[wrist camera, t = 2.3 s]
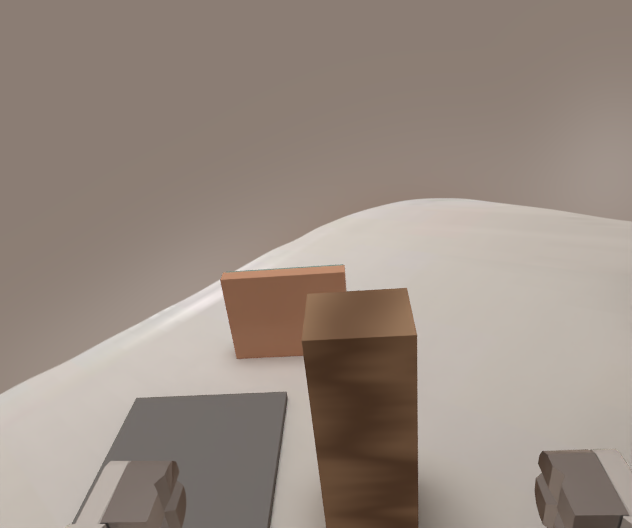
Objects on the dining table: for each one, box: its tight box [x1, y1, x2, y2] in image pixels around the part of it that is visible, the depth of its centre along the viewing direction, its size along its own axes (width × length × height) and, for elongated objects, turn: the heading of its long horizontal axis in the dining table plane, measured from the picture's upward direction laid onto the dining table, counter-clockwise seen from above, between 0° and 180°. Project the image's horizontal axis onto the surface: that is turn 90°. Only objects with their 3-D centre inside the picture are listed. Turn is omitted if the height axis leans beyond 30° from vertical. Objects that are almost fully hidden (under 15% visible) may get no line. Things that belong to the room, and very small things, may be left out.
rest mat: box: [72, 392, 287, 528], centre depth 35 cm, size 12×12×1 cm
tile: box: [220, 265, 347, 359], centre depth 43 cm, size 10×2×8 cm, turn 87°
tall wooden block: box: [302, 288, 418, 528], centre depth 28 cm, size 5×5×14 cm
